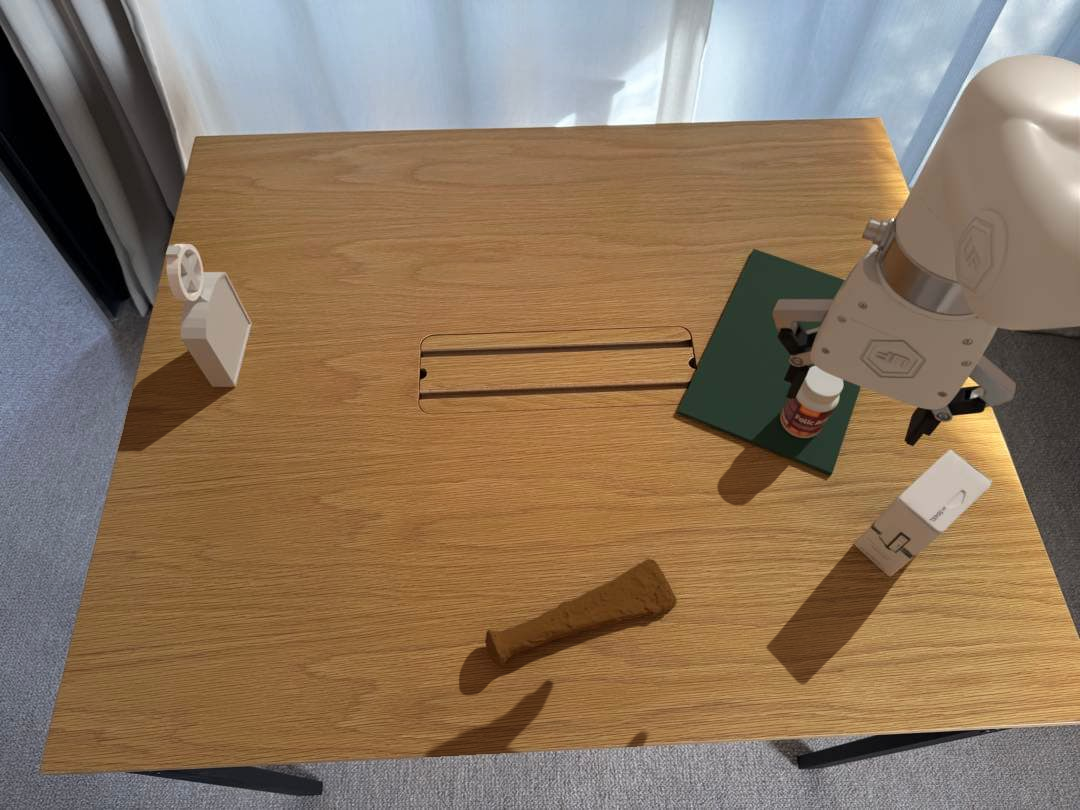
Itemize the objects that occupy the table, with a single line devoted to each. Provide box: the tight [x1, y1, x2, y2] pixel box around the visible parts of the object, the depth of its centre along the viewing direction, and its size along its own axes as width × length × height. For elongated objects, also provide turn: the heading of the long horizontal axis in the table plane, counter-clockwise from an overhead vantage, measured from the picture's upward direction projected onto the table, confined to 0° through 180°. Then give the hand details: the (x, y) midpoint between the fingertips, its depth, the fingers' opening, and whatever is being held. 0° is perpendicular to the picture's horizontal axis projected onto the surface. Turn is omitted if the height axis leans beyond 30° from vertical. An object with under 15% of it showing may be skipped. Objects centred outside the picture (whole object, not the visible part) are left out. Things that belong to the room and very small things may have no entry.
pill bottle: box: [780, 366, 843, 438], centre depth 83 cm, size 5×5×8 cm
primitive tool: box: [484, 558, 677, 668], centre depth 74 cm, size 19×6×4 cm, turn 115°
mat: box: [676, 248, 862, 476], centre depth 93 cm, size 18×28×1 cm, turn 154°
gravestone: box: [165, 243, 253, 388], centre depth 85 cm, size 3×9×18 cm, turn 0°
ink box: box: [853, 449, 993, 577], centre depth 75 cm, size 9×5×12 cm, turn 130°
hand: (852, 407), depth 63 cm, fingers open, 9 cm apart
